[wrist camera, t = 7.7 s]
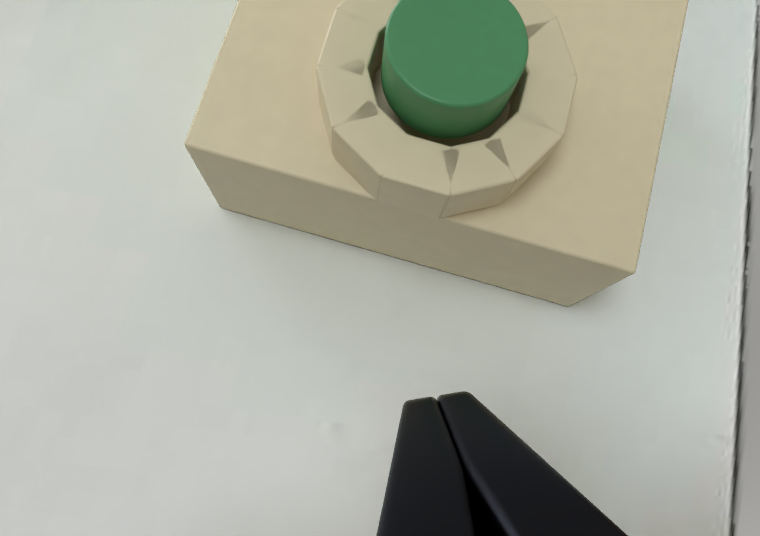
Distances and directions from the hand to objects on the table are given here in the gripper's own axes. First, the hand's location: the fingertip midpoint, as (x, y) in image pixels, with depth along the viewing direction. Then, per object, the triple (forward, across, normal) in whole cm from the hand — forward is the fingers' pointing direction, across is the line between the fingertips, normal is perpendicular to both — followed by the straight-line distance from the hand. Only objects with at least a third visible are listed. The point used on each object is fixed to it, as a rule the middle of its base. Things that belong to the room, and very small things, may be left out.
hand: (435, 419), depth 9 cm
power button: (+10, -2, -1) cm, 10 cm away
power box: (+16, -3, +2) cm, 16 cm away
